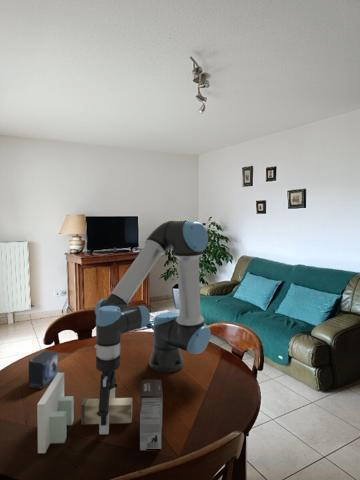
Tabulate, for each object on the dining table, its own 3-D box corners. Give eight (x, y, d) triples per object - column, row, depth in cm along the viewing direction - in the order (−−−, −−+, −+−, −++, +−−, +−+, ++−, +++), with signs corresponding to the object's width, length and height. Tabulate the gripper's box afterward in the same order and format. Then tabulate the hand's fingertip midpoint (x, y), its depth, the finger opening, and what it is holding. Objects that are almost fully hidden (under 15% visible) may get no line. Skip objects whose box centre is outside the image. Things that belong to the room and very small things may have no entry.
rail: (132, 415, 105) (132, 396, 104) (131, 423, 101) (131, 403, 100) (84, 416, 104) (84, 397, 103) (81, 424, 100) (81, 405, 99)
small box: (42, 390, 119) (42, 363, 118) (27, 388, 120) (27, 361, 120) (59, 376, 130) (58, 351, 129) (44, 374, 131) (44, 350, 130)
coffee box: (140, 429, 97) (140, 379, 96) (161, 428, 98) (161, 378, 97) (139, 451, 88) (139, 395, 87) (162, 450, 89) (162, 394, 88)
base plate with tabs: (76, 412, 105) (76, 372, 104) (60, 452, 87) (59, 403, 87) (58, 413, 105) (57, 372, 104) (37, 453, 87) (37, 404, 86)
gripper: (103, 340, 113) (102, 398, 114) (87, 374, 88) (87, 447, 89) (124, 340, 114) (123, 397, 115) (114, 373, 89) (114, 446, 90)
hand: (107, 419), depth 102 cm, fingers open, 13 cm apart
